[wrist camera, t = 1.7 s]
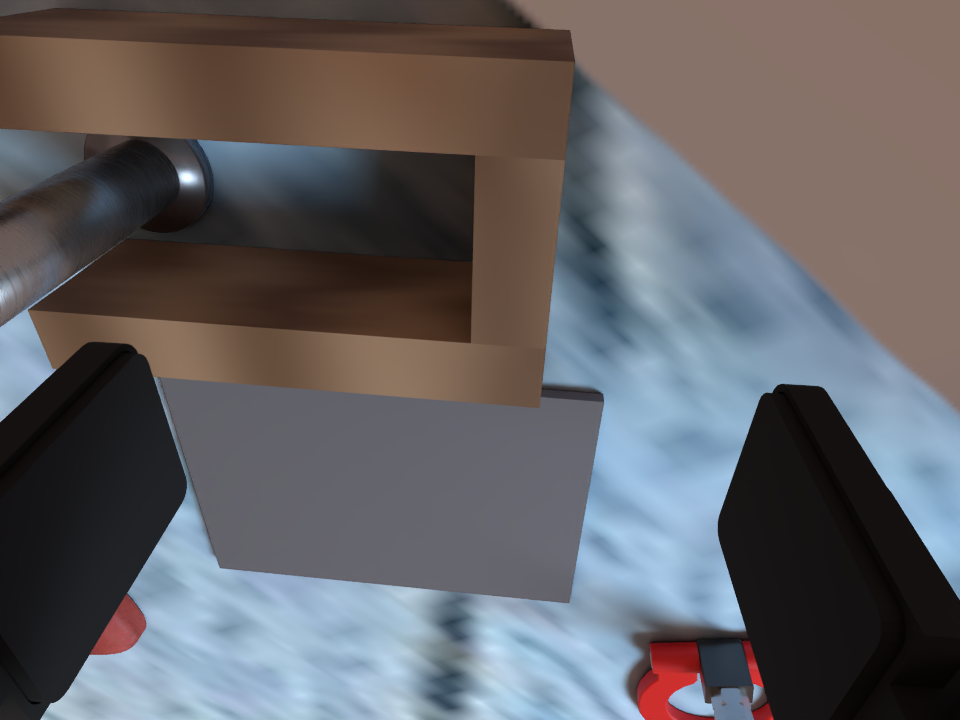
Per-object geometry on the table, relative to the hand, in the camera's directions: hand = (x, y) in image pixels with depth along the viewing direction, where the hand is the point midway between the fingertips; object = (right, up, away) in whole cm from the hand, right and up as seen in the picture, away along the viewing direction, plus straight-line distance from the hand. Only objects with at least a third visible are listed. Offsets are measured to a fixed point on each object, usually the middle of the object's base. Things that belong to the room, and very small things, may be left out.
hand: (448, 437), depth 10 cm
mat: (-4, -4, +18) cm, 18 cm away
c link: (-4, +7, +10) cm, 13 cm away
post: (-10, +7, +10) cm, 16 cm away
